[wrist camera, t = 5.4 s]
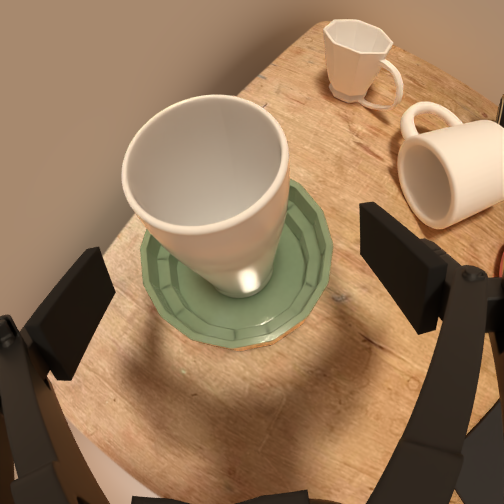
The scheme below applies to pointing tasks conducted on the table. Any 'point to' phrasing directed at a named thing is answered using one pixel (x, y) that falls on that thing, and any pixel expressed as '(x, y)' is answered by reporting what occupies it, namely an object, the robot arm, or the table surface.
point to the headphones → (500, 113)
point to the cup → (358, 61)
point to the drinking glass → (213, 188)
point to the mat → (483, 461)
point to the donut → (501, 266)
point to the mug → (450, 166)
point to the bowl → (256, 306)
